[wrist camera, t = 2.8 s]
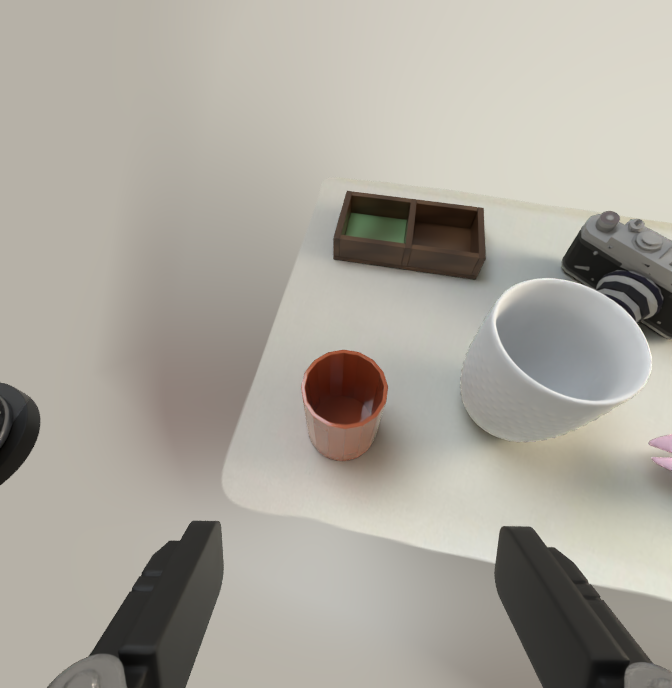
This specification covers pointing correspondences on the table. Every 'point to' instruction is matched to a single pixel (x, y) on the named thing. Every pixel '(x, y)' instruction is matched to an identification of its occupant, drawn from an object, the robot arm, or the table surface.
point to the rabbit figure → (665, 443)
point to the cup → (343, 403)
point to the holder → (411, 234)
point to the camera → (626, 267)
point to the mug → (552, 361)
